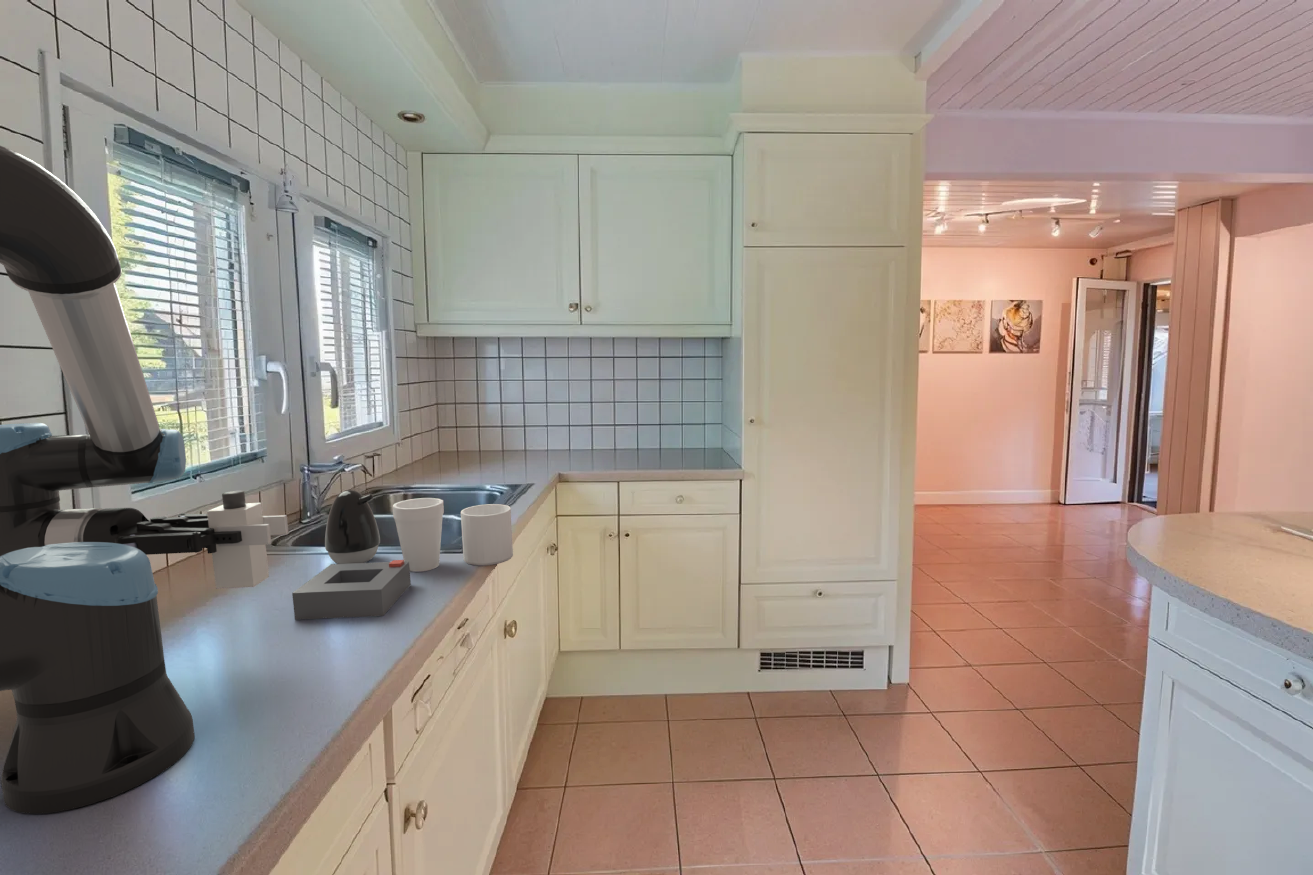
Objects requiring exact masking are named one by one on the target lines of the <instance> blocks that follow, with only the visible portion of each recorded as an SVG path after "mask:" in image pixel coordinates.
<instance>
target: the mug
mask: <svg viewBox="0 0 1313 875" xmlns="http://www.w3.org/2000/svg"><path fill="white" fill-rule="evenodd" d="M511 510H512V509H511V506H509V505H507V504H500V503H499V504H498V503H490V504H478V505H472V506H469V507H465V508H463V509H462V510H461V511H460V523H461V524H460V525H461V526H460V527H461V539H462V540H461V541H462V555H463V557H462V558H463V561H464V562H465V563H466V564H468V565H471V566H478V567H479V566H480V567H481V566H482V567H483V566H485V567H486V566H492V565H498V564H503V563H506V562H508V561H509V560H511V559H512V558H513V557H514V551H513V550H514V548H513V546H514V545H513V530H512V526H513V525H512V511H511Z"/></svg>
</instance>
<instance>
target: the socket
mask: <svg viewBox="0 0 1313 875" xmlns="http://www.w3.org/2000/svg"><path fill="white" fill-rule="evenodd" d="M411 585H412V583H411V571H410V567H409V561H404V559H393V560H392V561H382V562H381V561H380V562H379V561H378V562H366V563H352V564H337V563H331V564H329V565H328V566H327V567H325V568H324V569H323V570H322V571H320V572H318V574H315V575H314V576H313V577H312V578H310V579H309V580H308V581H306V582H305V583H304V584H302V585H301V586H299V587H298V588H297V589H295V590H294V591H293V592H292V594H291V595H292V605H293V614H294V615H293V616H294V620H296V621H297V620H313V619H317V620H320V619H339V618H342V619H343V618H364V617H384V616H385V615H386V613H387V612H388V611H389V610H390V609H391V608H392V607H393V606H394V605H395V603H396V602H397V601H398V600H399V598H401V597H402V595H403V594H404V593H405V592H406V591H407V590H408V589H409V587H410V586H411Z"/></svg>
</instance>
